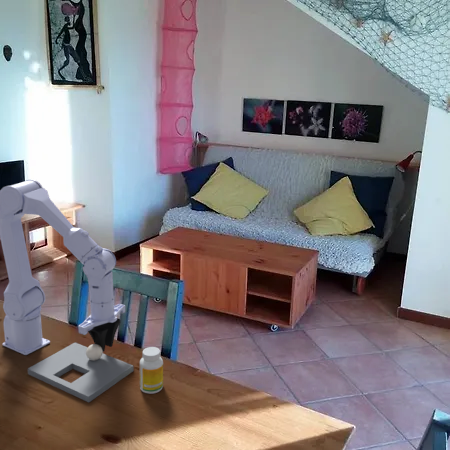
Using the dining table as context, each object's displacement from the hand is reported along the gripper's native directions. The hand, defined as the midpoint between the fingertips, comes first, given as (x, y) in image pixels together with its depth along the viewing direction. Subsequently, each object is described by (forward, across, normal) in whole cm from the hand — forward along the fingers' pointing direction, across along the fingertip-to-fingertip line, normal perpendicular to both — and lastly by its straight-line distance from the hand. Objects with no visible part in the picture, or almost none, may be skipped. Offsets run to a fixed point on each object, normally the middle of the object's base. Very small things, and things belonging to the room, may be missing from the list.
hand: (104, 348), depth 128 cm
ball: (0, -3, 0) cm, 3 cm away
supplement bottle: (+3, -3, -18) cm, 18 cm away
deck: (+3, -8, 0) cm, 8 cm away
